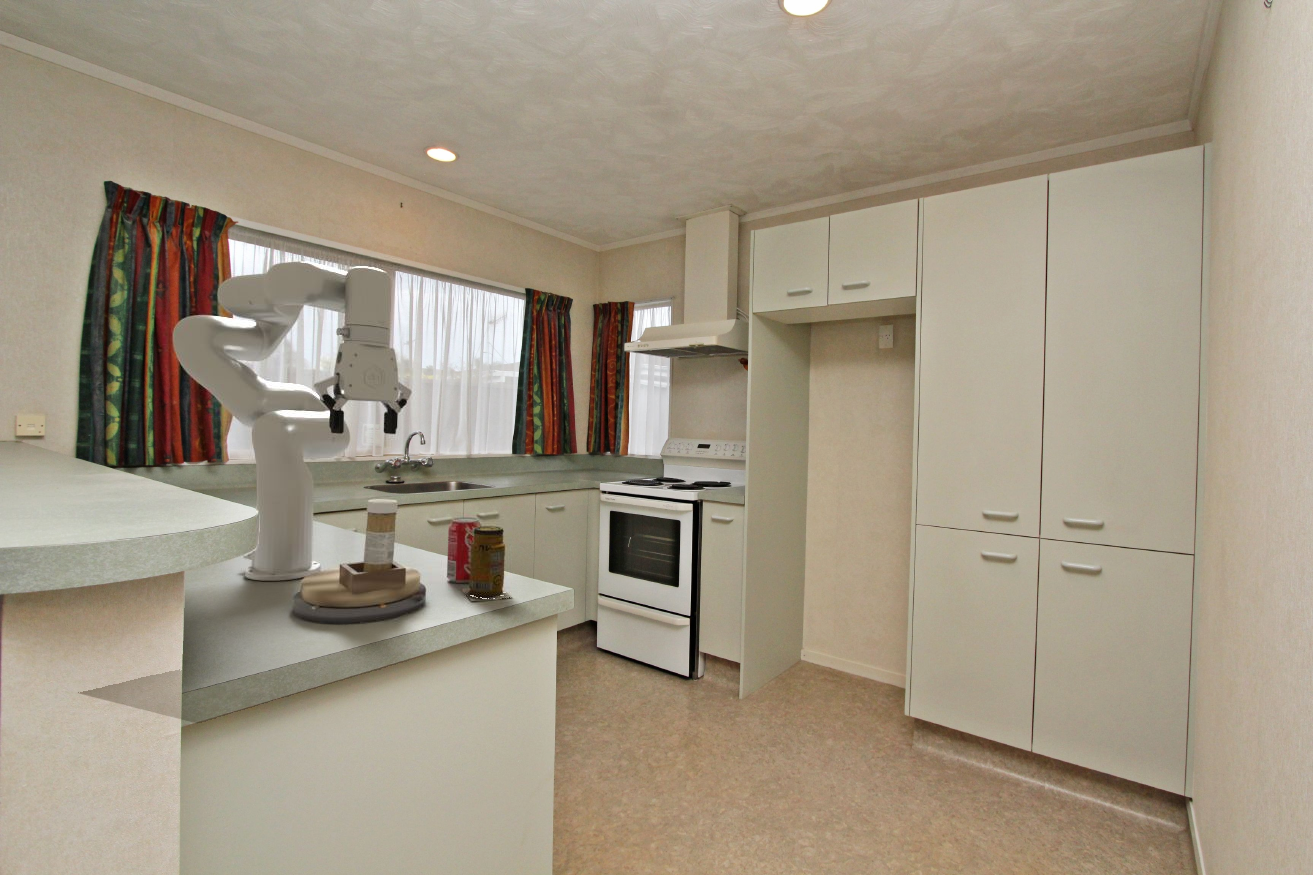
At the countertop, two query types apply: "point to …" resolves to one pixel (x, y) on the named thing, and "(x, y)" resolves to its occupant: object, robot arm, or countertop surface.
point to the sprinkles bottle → (380, 534)
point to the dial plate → (358, 610)
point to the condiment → (487, 565)
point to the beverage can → (460, 548)
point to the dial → (359, 585)
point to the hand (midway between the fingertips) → (364, 433)
